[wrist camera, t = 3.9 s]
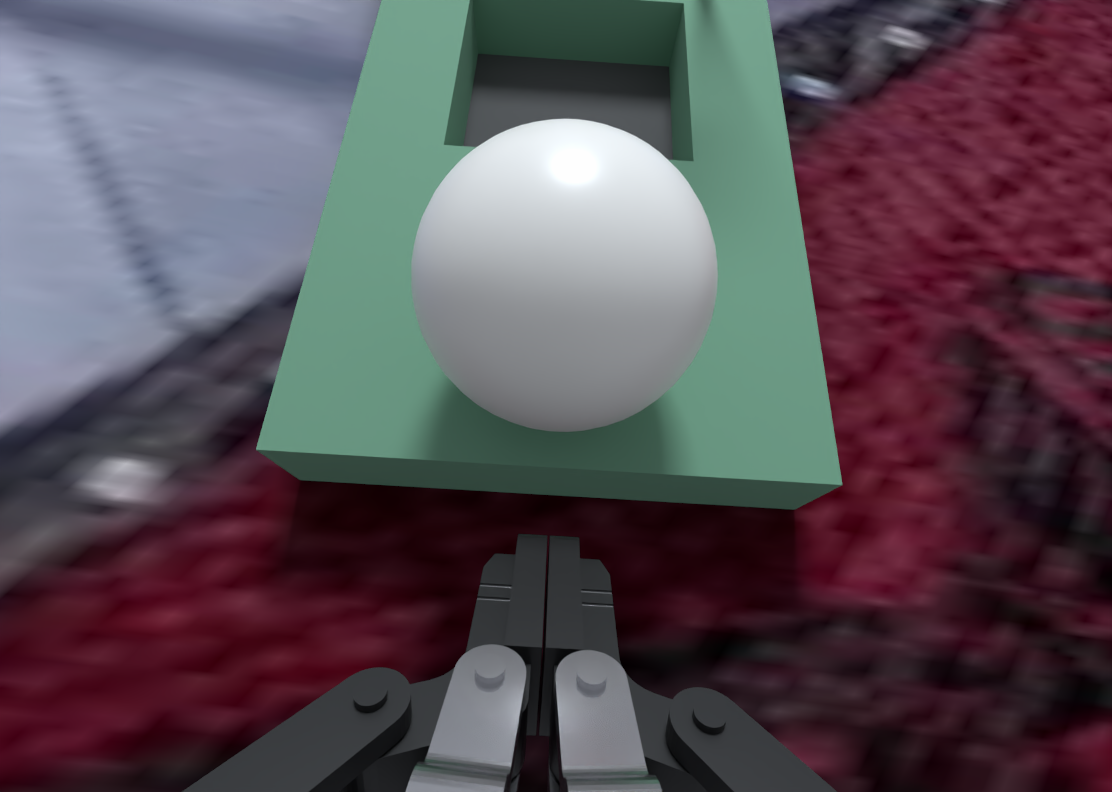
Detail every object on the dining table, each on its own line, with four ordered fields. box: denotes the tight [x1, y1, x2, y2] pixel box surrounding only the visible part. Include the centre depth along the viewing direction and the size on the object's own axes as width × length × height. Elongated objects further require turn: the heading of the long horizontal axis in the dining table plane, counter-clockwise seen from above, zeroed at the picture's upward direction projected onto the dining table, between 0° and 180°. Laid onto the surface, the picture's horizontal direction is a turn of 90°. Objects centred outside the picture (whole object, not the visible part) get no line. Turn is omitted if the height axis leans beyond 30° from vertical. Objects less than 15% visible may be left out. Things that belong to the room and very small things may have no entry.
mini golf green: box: [256, 0, 842, 510], centre depth 18 cm, size 18×26×18 cm
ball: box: [411, 119, 718, 432], centre depth 15 cm, size 8×8×8 cm
